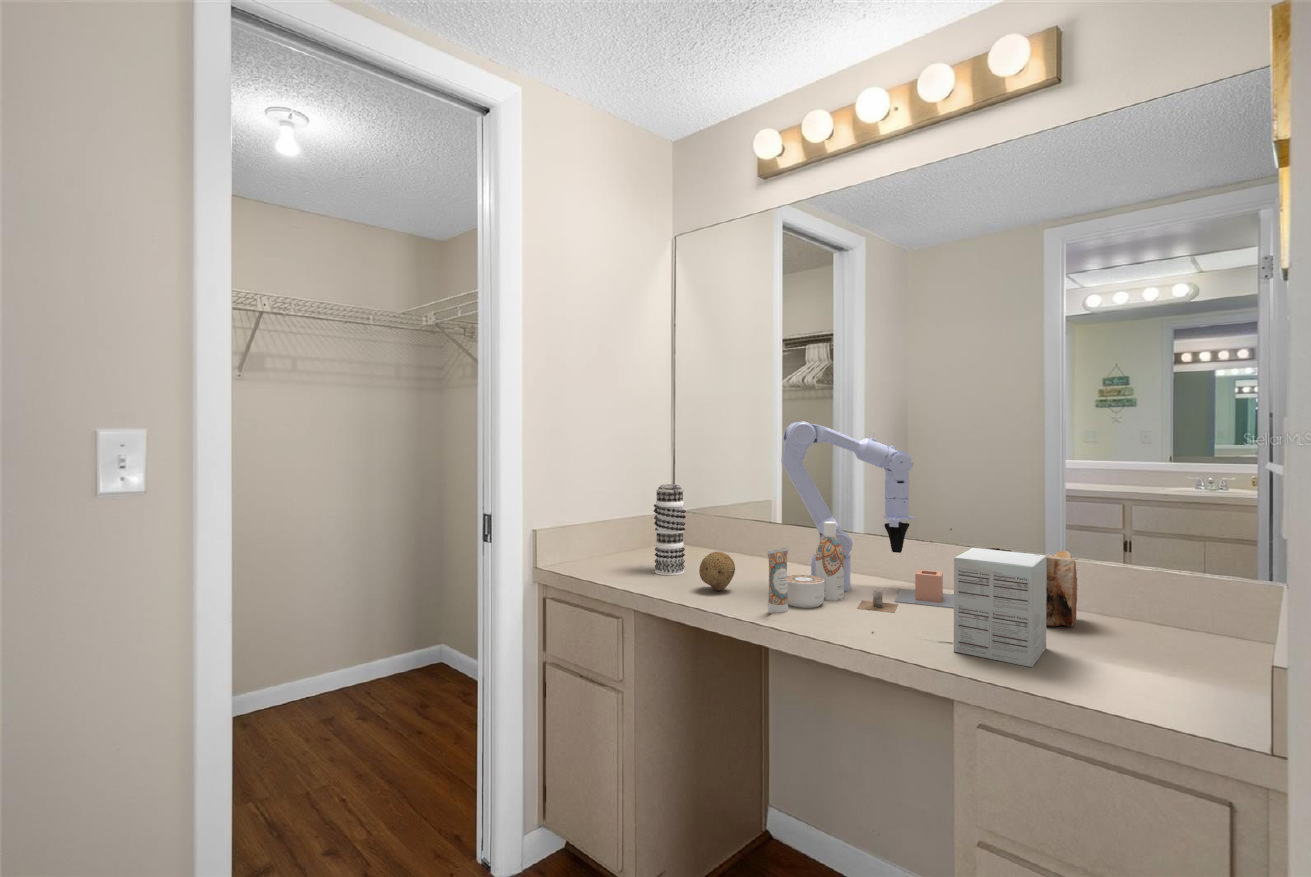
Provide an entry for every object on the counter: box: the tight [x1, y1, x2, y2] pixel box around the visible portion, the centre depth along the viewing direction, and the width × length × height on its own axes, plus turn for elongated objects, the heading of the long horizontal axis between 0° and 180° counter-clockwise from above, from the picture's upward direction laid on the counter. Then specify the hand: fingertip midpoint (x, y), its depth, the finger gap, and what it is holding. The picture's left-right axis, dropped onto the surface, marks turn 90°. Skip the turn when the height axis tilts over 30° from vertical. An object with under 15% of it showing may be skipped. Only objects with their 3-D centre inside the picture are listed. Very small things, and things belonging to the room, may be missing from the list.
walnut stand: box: [856, 589, 899, 614], centre depth 150 cm, size 8×8×4 cm
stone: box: [1045, 550, 1078, 628], centre depth 139 cm, size 14×9×15 cm, turn 127°
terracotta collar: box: [914, 569, 944, 602], centre depth 157 cm, size 6×6×6 cm
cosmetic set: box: [767, 521, 845, 615], centre depth 153 cm, size 25×9×19 cm, turn 128°
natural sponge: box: [699, 551, 736, 592], centre depth 168 cm, size 9×9×10 cm
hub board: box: [894, 588, 954, 610], centre depth 157 cm, size 14×13×6 cm
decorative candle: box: [653, 483, 687, 576], centre depth 190 cm, size 9×9×25 cm
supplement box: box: [953, 547, 1047, 668], centre depth 123 cm, size 13×13×18 cm
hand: (896, 552), depth 167 cm, fingers closed
